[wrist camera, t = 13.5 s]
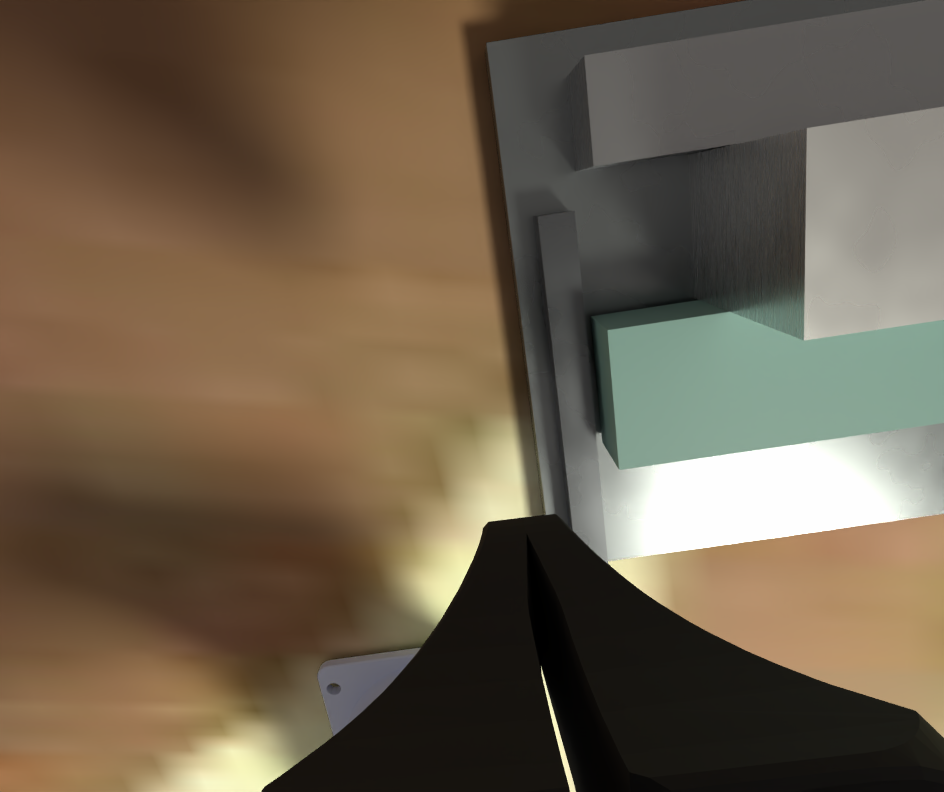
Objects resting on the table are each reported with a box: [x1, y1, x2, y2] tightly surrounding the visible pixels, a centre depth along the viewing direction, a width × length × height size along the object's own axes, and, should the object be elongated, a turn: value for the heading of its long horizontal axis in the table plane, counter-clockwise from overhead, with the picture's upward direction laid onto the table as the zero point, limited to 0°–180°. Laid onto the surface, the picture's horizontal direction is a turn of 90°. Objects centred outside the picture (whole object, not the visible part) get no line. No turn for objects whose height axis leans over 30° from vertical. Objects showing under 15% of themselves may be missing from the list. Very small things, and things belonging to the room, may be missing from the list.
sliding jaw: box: [591, 300, 944, 470], centre depth 17 cm, size 4×14×2 cm, turn 99°
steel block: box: [689, 107, 944, 341], centre depth 15 cm, size 4×7×6 cm, turn 99°
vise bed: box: [485, 0, 944, 563], centre depth 17 cm, size 16×18×3 cm
